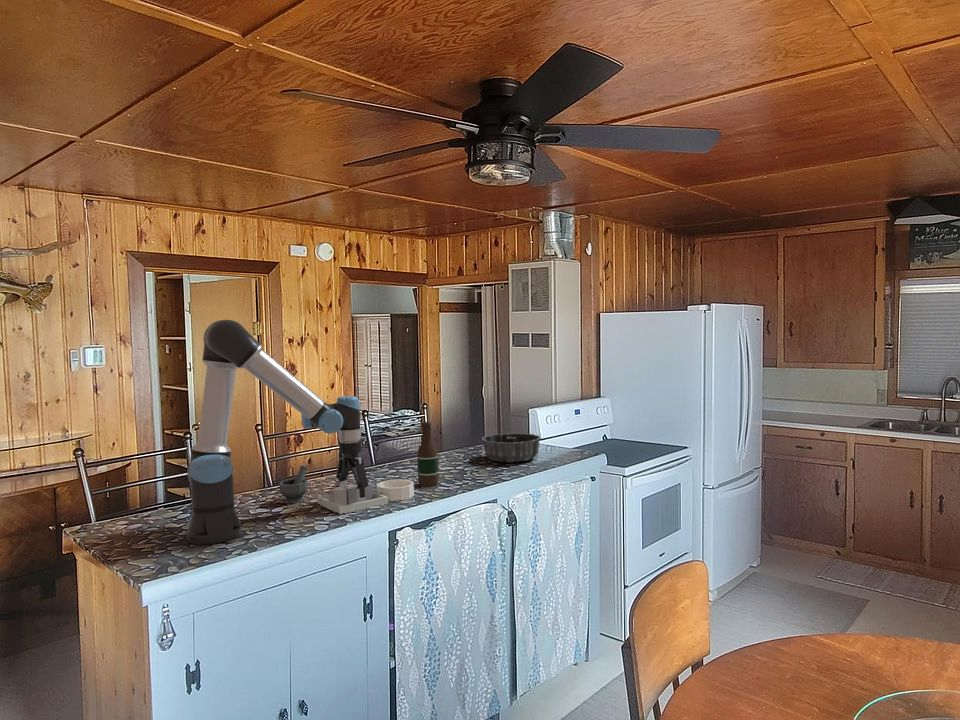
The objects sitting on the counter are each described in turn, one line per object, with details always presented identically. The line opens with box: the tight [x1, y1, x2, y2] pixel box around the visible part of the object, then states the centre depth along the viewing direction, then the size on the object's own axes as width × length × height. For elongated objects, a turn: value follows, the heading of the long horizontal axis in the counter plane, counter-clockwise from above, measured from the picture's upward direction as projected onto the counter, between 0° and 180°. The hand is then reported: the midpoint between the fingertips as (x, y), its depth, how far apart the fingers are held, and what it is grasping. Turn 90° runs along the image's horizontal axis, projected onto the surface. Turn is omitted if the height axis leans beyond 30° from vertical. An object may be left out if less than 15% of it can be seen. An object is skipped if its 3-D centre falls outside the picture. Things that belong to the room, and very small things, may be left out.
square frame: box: [316, 491, 389, 515], centre depth 225 cm, size 18×18×2 cm
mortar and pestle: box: [278, 464, 309, 504], centre depth 231 cm, size 11×9×12 cm
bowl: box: [376, 478, 415, 502], centre depth 233 cm, size 13×13×4 cm
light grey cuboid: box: [365, 482, 375, 501], centre depth 228 cm, size 4×3×6 cm
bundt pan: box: [481, 432, 541, 463], centre depth 292 cm, size 26×26×10 cm
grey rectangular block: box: [344, 484, 357, 505], centre depth 225 cm, size 4×3×6 cm
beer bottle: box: [416, 421, 439, 487], centre depth 249 cm, size 8×8×24 cm
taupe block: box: [329, 487, 347, 506], centre depth 222 cm, size 4×3×6 cm
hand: (352, 503), depth 225 cm, fingers open, 12 cm apart
